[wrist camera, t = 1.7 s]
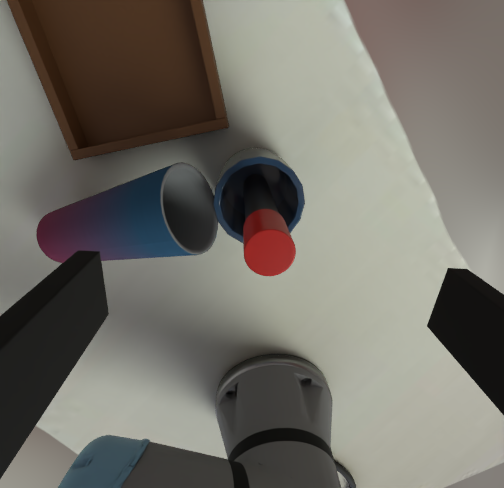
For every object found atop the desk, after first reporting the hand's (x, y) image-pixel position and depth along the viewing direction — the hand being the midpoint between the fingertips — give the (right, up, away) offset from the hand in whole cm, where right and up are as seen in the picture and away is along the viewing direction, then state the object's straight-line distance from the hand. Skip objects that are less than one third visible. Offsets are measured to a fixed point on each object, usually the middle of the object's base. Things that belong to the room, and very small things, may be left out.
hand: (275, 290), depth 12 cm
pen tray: (-12, +21, +12) cm, 27 cm away
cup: (-19, +2, +17) cm, 26 cm away
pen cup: (-1, +8, +18) cm, 20 cm away
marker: (-1, +7, +18) cm, 19 cm away
